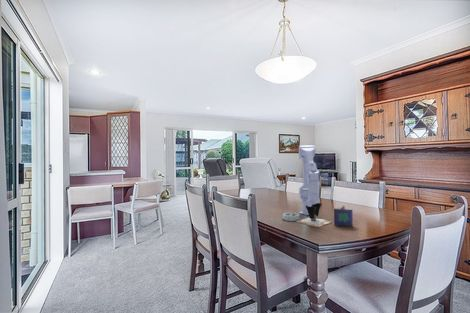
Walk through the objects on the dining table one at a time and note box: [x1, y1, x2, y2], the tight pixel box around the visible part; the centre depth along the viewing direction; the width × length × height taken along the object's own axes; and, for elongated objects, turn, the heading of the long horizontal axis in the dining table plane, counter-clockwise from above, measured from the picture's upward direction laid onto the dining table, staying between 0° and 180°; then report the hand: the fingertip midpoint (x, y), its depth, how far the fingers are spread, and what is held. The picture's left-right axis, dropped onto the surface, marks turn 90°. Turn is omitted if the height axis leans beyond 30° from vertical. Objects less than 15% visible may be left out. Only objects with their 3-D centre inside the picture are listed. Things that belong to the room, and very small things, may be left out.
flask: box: [333, 205, 354, 227], centre depth 134 cm, size 9×3×11 cm, turn 74°
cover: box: [302, 214, 326, 225], centre depth 141 cm, size 10×10×4 cm
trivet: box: [295, 217, 333, 228], centre depth 141 cm, size 14×14×1 cm
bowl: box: [282, 212, 300, 222], centre depth 149 cm, size 9×9×3 cm
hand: (314, 217), depth 141 cm, fingers open, 7 cm apart
